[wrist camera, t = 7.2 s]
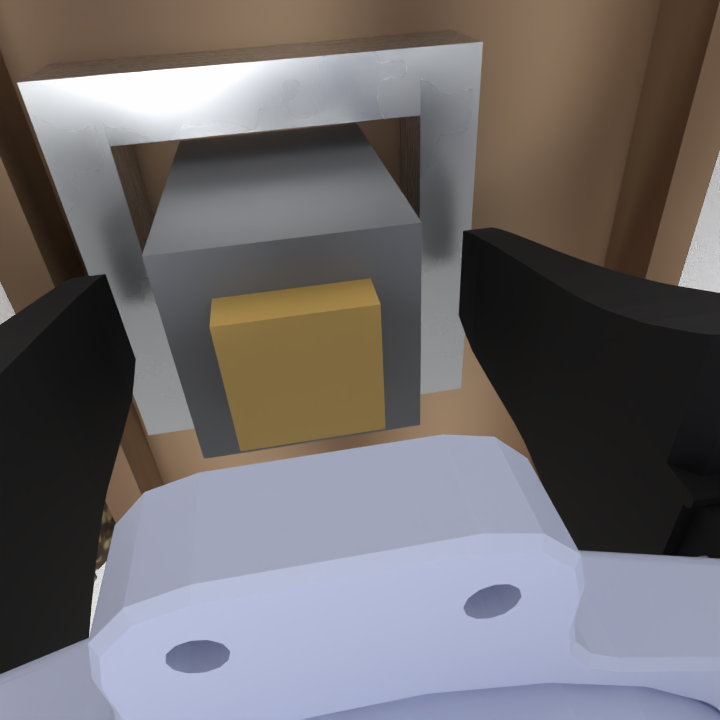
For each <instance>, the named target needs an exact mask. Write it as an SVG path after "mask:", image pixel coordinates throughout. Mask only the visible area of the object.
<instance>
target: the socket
mask: <svg viewBox="0 0 720 720" xmlns="http://www.w3.org/2000/svg"><path fill="white" fill-rule="evenodd" d="M482 50H483V42H482V41H480V40H477V39H475V38H472V37H469V36H467V35H464V34H461V33H459V32H456V31H454V30H445V31H433V32H421V33H409V34H397V35H386V36H374V37H362V38H350V39H339V40H327V41H315V42H303V43H291V44H280V45H268V46H256V47H244V48H233V49H221V50H209V51H197V52H185V53H174V54H162V55H150V56H138V57H127V58H115V59H103V60H91V61H79V62H68V63H56V64H48V65H46V66H44V67H43V68H41V69H39V70H37V71H36V72H34V73H32V74H31V75H29V76H27V77H26V78H24V79H22V80H20V81H19V82H17V84H18V87H19V89H20V92H21V95H22V97H23V100H24V103H25V105H26V108H27V111H28V113H29V116H30V119H31V122H32V124H33V127H34V130H35V132H36V135H37V138H38V140H39V143H40V146H41V148H42V151H43V154H44V156H45V159H46V162H47V164H48V167H49V170H50V172H51V175H52V178H53V181H54V183H55V186H56V189H57V191H58V194H59V197H60V199H61V202H62V205H63V207H64V210H65V213H66V215H67V218H68V221H69V223H70V226H71V229H72V231H73V234H74V237H75V240H76V242H77V245H78V248H79V250H80V253H81V256H82V258H83V261H84V264H85V266H86V269H87V272H88V274H89V276H93V275H101V274H106V277H107V279H108V282H109V285H110V288H111V291H112V294H113V296H114V299H115V302H116V305H117V308H118V310H119V313H120V316H121V319H122V322H123V324H124V327H125V330H126V333H127V336H128V339H129V341H130V344H131V347H132V350H133V353H134V355H135V358H136V363H135V375H134V386H133V395H134V398H135V400H136V403H137V406H138V408H139V411H140V414H141V417H142V419H143V422H144V425H145V427H146V430H147V433H148V435H155V434H161V433H168V432H174V431H181V430H188V429H194V425H193V421H192V418H191V415H190V412H189V408H188V405H187V402H186V399H185V395H184V392H183V389H182V386H181V382H180V379H179V376H178V373H177V369H176V366H175V363H174V360H173V356H172V353H171V350H170V347H169V343H168V340H167V337H166V334H165V330H164V327H163V324H162V321H161V317H160V314H159V311H158V307H157V304H156V301H155V298H154V294H153V291H152V288H151V285H150V281H149V278H148V275H147V272H146V268H145V265H144V262H143V259H142V254H143V251H144V248H145V245H146V242H147V239H148V236H149V233H150V230H151V227H152V224H153V221H154V216H153V212H152V209H151V205H150V202H149V198H148V195H147V191H146V187H145V184H144V180H143V177H142V173H141V170H140V166H139V162H138V159H137V155H136V152H135V148H134V145H133V144H138V143H148V142H158V141H168V140H178V139H188V138H199V137H209V136H219V135H229V134H239V133H249V132H259V131H269V130H279V129H289V128H299V127H309V126H319V125H329V124H339V123H349V122H359V121H369V120H379V119H389V118H399V164H400V190H401V192H402V193H403V195H404V196H405V198H406V199H407V201H408V202H409V204H410V205H411V207H412V208H413V210H414V211H415V213H416V214H417V216H418V218H419V219H420V221H421V222H422V264H421V390H420V394H427V393H434V392H440V391H447V390H453V389H460V388H461V382H462V366H463V350H464V335H465V332H464V329H463V326H462V323H461V321H460V318H459V297H460V278H461V260H462V241H463V231H465V230H471V224H472V208H473V192H474V177H475V161H476V145H477V129H478V113H479V98H480V82H481V66H482Z"/></svg>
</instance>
